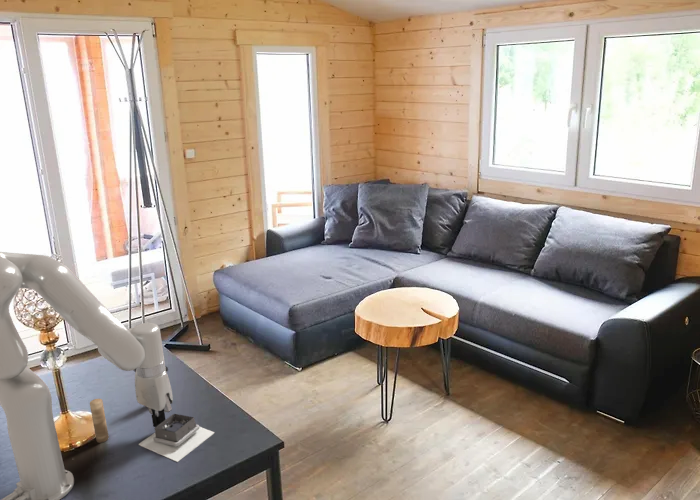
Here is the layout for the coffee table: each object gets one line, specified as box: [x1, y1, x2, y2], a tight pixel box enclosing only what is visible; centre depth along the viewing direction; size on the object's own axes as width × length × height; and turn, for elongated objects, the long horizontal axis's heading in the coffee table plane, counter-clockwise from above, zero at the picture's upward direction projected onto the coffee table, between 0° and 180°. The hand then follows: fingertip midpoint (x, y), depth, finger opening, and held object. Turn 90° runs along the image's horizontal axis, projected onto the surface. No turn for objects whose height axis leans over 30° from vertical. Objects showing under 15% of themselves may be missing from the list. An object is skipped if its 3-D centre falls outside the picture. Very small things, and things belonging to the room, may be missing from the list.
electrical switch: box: [153, 413, 200, 446], centre depth 158 cm, size 9×5×9 cm
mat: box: [138, 425, 215, 463], centre depth 158 cm, size 14×15×1 cm
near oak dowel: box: [89, 398, 110, 443], centre depth 157 cm, size 3×3×12 cm
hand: (159, 424), depth 161 cm, fingers closed
